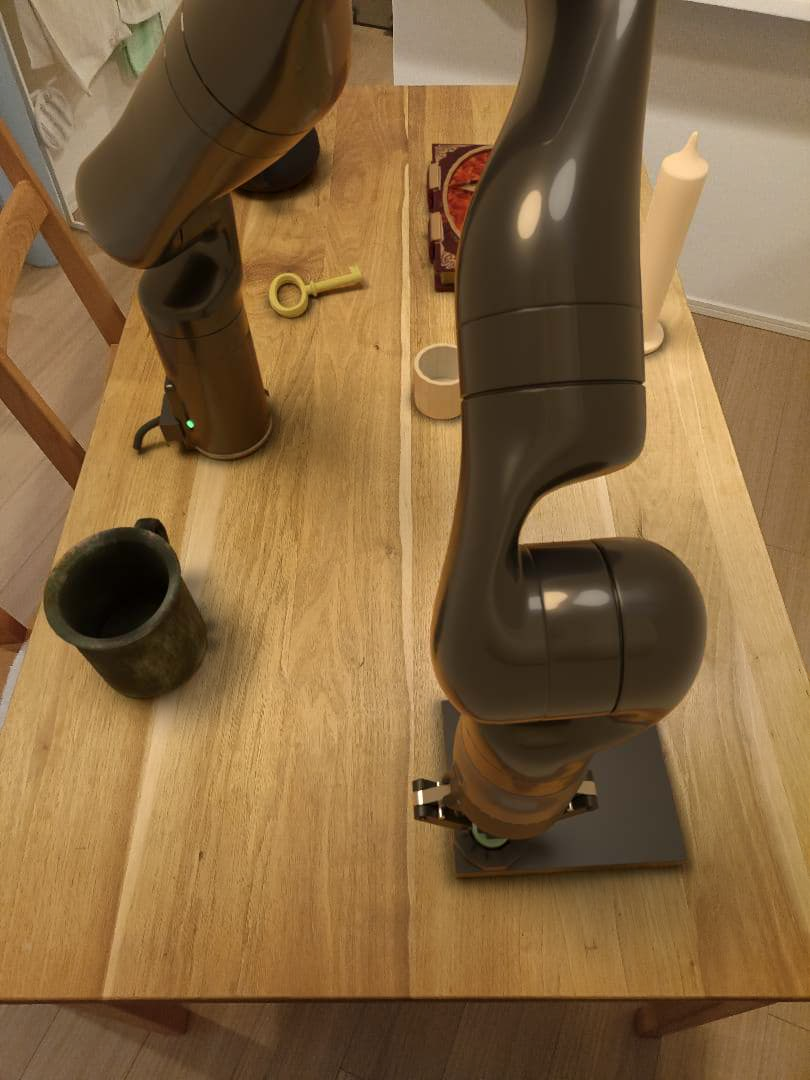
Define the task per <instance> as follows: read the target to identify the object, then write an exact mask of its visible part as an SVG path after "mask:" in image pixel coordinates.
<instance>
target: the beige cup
mask: <svg viewBox="0 0 810 1080" xmlns="http://www.w3.org/2000/svg"><path fill="white" fill-rule="evenodd" d="M413 395H414V397H413V398H414V399H413V400H414V404H415V407H416V408H417V409H418V411H420V413H422V414H423V415H424V416H426V417H428V418H431V419H435V420H451V419H454V418H457V417H459V416H461V401H462V400H463V399H461V398H460V387H459V371H458V355H457V344H453V343H448V342H439V343H438V342H437V343H434V344H433V343H432V344H430V345H427V346H424V348H422V349H421V350H420V351H419V352H418V353H417V354H416V355H415V358H414V360H413Z"/></svg>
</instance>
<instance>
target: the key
mask: <svg viewBox="0 0 810 1080" xmlns="http://www.w3.org/2000/svg"><path fill="white" fill-rule="evenodd" d="M348 268H349V269H348V270H349V272H350V273H348V274H344V275H340V276H336V277H333V278H329V279H325V280H321V281H317V282H315V281H314V280H310V281H309V284H305V283H304V281H303V279H302V278H301V277H300V276H299V275H298V274H295V273H293V272H285V273H281V274H279V275H277V276H276V277H275V278H273V280H272V282H271V283H270V286H269V289H268V300H269V304H270V305H271V307H272V309H273V310H274V311H275V312H276V313H277V314H279V315H280V316H281V317H282V318H283V317H284V318H289V319H292V318H296V317H297V318H298V317H299V316H301V315H302V314H304V312H305V311H306V310H307V308H308V305H309V296H310V295H312V296H313V297H317V296H318V293H321V292H325V291H329V290H332V289H333V290H334V289H336V288H341V287H344V286H348V285H351V284H355V283H359V282H363V281H364V278H363V274H362V271H361V270H360V269H359V265H358V264H356V265H355V266H352V265H351V266H348ZM285 284H293V285H295V286H296V287H298V288H299V290H300V294H301V298H300V300H299V302H298V303H297V304H296V305H294V306H291V307H285V306H283V305H282V304H281V303H280V302H279V300H278V291H279V288H280V287H281V286H283V285H285Z"/></svg>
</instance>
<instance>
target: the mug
mask: <svg viewBox="0 0 810 1080" xmlns="http://www.w3.org/2000/svg"><path fill="white" fill-rule="evenodd" d="M177 554H178V553H177V552H176V551H175V549H174V548H173V546H172V545H171V543H170V538H169V535H168V531H167V529H166V527H165V526H164V523H162V521H161V520H160V519H159V518H155V517H142V518H138V519H137V520H136V521H135V523H134V525H133V526H118V527H111V528H108V529H105V530H104V529H103V530H100V531H98V532H96V533H92V534H90V535H88V536H87V537H85V538H82V539H81V540H80V541H78V542H77V543H76V544H74V545H73V546H71V547H70V548H69V549H68V550H67V551H66V552H64V554H63V555H62V556H61V557H60V558H59V560H58V561H57V562H56V563H55V565H54V567H53V568H52V570H51V571H50V573H49V576H48V577H47V580H46V583H45V586H44V589H43V599H42V601H43V611H44V615H45V618H46V621H47V623H48V625H49V627H50V629H51V630H52V631H53V632H54V634H55V635H56V636H57V637H59V638H60V639H61V640H63V641H64V642H66V643H68V644H70V645H72V646H74V647H75V648H76V650H77V651H78V652H79V653H80V654H81V655H82V656H83V658H85V660H86V661H87V662H88V663H89V664H90V666H91V667H92V668H93V669H94V671H96V673H97V674H98V675H99V676H100V677H101V678H102V679H103V680H104V682H105V683H106V684H107V685H108V686H109V687H110V688H111V689H113V690H114V691H116V692H118V693H120V694H121V695H124V696H128V697H133V698H151V697H157V696H160V695H163V694H165V693H167V692H170V691H172V690H174V689H175V688H177V687H178V686H180V685H182V684H183V683H184V682H185V681H186V680H187V679H189V678H190V676H191V675H192V674H193V673H194V672H195V671H196V669H197V668H198V666H199V664H200V662H201V661H202V658H203V657H204V654H205V651H206V647H207V640H208V635H207V634H208V632H207V627H206V623H205V620H204V618H203V616H202V614H201V612H200V609H199V608H198V606H197V604H196V602H195V600H194V598H193V596H192V594H191V592H190V590H189V589H188V586H187V584H186V582H185V580H184V578H183V575H182V569H181V563H180V560H179V558H178V555H177Z"/></svg>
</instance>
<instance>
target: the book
mask: <svg viewBox="0 0 810 1080" xmlns="http://www.w3.org/2000/svg"><path fill="white" fill-rule="evenodd" d="M493 146H494V144H477V143H475V144H473V143H431V160H430V165H428V166H427V170H426V171H427V172H426V201H427V209H428V211H430V212H431V214H429V217H428V221H427V248H428V249H427V250H428V256H429V257H428V258H429V262H430V263H431V264H433V283H434V285H433V287H434V291H455V268H456V257H457V250H458V245H459V239H460V234H461V230H462V226H463V222H464V218H465V214H466V212H467V209H468V206H469V203H470V200H471V197H472V194H473V192H474V189H475V187H476V185H477V182H478V180H479V178H480V175H481V173H482V170H483V168H484V166H485V163H486V161H487V159H488V157H489V155H490V152H491V150H492V148H493Z"/></svg>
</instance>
